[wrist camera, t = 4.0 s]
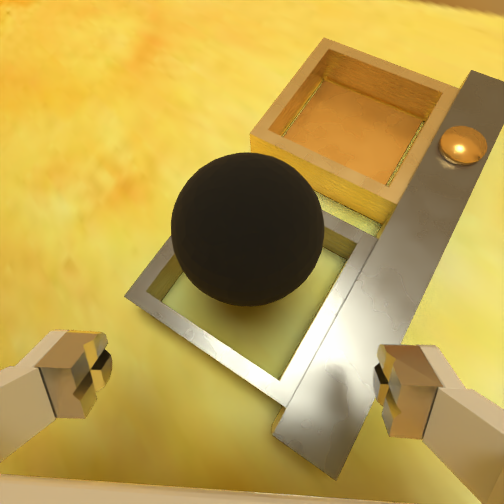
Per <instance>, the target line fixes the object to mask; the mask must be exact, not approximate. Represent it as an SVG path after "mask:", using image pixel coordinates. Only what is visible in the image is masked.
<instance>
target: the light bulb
mask: <svg viewBox="0 0 504 504" xmlns="http://www.w3.org/2000/svg"><path fill="white" fill-rule="evenodd" d="M324 231H325V229H324V219H323V214H322V210H321V206H320V203H319V200H318V197H317V196H316V194H315V192H314V190H313V189H312V187H311V185H310V184H309V183H308V181H307V180H306V179H305V178H304V177H303V176H302V175H301V174H300V173H299V172H298V171H297V170H296V169H295V168H293V167H292V166H290V165H289V164H287V163H286V162H284V161H282V160H280V159H277V158H275V157H273V156H268V155H264V154H259V153H236V154H231V155H227V156H224V157H221V158H218V159H215V160H213V161H212V162H210V163H208V164H207V165H205V166H203V167H202V168H200V169H199V170H198V171H197V172H196V173H195V174H194V175H193V176H192V177H191V178H190V179H189V180H188V181H187V183H186V184H185V186H184V187H183V189H182V190H181V192H180V194H179V196H178V198H177V200H176V203H175V205H174V209H173V213H172V219H171V239H172V245H173V250H174V253H175V256H176V258H177V260H178V262H179V264H180V266H181V268H182V270H183V271H184V273H185V274H186V276H187V277H188V279H189V280H190V281H191V282H192V283H193V284H194V285H195V286H196V287H197V288H198V289H200V290H201V291H202V292H204V293H205V294H207V295H209V296H210V297H212V298H214V299H217V300H219V301H222V302H225V303H228V304H231V305H237V306H259V305H264V304H268V303H272V302H274V301H277V300H279V299H281V298H283V297H285V296H287V295H288V294H290V293H291V292H292V291H294V290H295V289H296V288H298V287H299V286H300V285H301V284H302V283H303V282H304V281H305V280H306V279H307V277H308V276H309V275H310V273H311V272H312V270H313V269H314V267H315V265H316V263H317V261H318V258H319V256H320V254H321V250H322V246H323V241H324Z"/></svg>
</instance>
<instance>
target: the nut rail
mask: <svg viewBox="0 0 504 504" xmlns="http://www.w3.org/2000/svg"><path fill="white" fill-rule="evenodd" d="M322 80H324V82H323V83H322V84H321V86H320V87H319V89H318V90H317V91H316V93H315V94H314V95H313V97H312V98H311V99H310V101H309V102H308V104H307V105H306V106H305V108H304V109H303V110H302V112H301V113H300V115H299V116H298V117H297V119H296V120H295V121H294V123H293V124H292V126H291V127H290V128H289V130H288V131H287V132H286V134H285V135H284V137H282V135H283V134H284V132H285V131H286V130H287V128H288V127H289V126H290V124H291V123H292V121H293V120H294V119H295V117H296V116H297V115H298V113H299V112H300V111H301V109H302V108H303V106H304V105H305V104H306V102H307V101H308V100H309V98H310V97H311V95H312V94H313V93H314V91H315V90H316V89H317V87H318V86H319V85H320V83H321V82H322ZM422 121H425V123H424V125H423V127H422V128H421V130H420V132H419V134H418V135H417V137H416V139H415V141H414V142H413V144H412V146H411V148H410V149H409V151H408V153H407V155H406V157H405V158H404V160H403V162H402V164H401V165H400V167H399V169H398V171H397V172H396V174H395V176H394V178H393V179H392V181H391V183H390V185H389V186H386V184H387V182H388V180H389V178H390V177H391V175H392V173H393V171H394V170H395V168H396V166H397V164H398V163H399V161H400V159H401V157H402V156H403V154H404V152H405V150H406V149H407V147H408V145H409V143H410V142H411V140H412V138H413V136H414V135H415V133H416V131H417V129H418V128H419V126H420V124H421V122H422ZM503 124H504V82H503V81H501V80H498V79H495V78H492V77H489V76H487V75H484V74H481V73H478V72H476V71H473V70H471V71H470V73H469V74H468V76H467V77H466V79H465V80H464V82H463V83H462V85H461V86H460V88H456V87H453V86H451V85H448V84H445V83H443V82H440V81H437V80H435V79H432V78H430V77H427V76H424V75H422V74H419V73H416V72H414V71H411V70H408V69H406V68H403V67H401V66H398V65H395V64H393V63H390V62H387V61H385V60H382V59H379V58H377V57H374V56H371V55H369V54H366V53H364V52H361V51H358V50H356V49H353V48H350V47H348V46H345V45H342V44H340V43H337V42H335V41H332V40H329V39H327V38H323V39H322V41H321V42H320V43H319V45H318V46H317V47H316V48H315V50H314V51H313V52H312V54H311V55H310V56H309V57H308V59H307V60H306V61H305V63H304V64H303V65H302V67H301V68H300V69H299V70H298V72H297V73H296V74H295V76H294V77H293V78H292V79H291V81H290V82H289V83H288V85H287V86H286V87H285V89H284V90H283V91H282V92H281V94H280V95H279V96H278V98H277V99H276V100H275V101H274V103H273V104H272V105H271V107H270V108H269V109H268V111H267V112H266V113H265V114H264V116H263V117H262V118H261V120H260V121H259V122H258V123H257V125H256V126H255V127H254V129H253V130H252V131H251V133H250V144H251V153H259V154H264V155H268V156H273V157H275V158H277V159H280V160H282V161H284V162H286V163H287V164H289V165H290V166H292V167H293V168H295V169H296V170H297V171H298V172H299V173H300V174H301V175H302V176H303V177H304V178H305V179H306V180H307V181H308V183H309V184H310V185H311V187H312V189H313V190H315V191H317V192H319V193H321V194H323V195H325V196H327V197H329V198H331V199H333V200H335V201H337V202H339V203H341V204H343V205H345V206H347V207H349V208H351V209H353V210H355V211H357V212H359V213H361V214H363V215H365V216H367V217H369V218H371V219H373V220H375V221H377V222H379V223H381V224H382V226H381V228H380V230H379V231H378V233H377V235H376V237H374V236H372V235H370V234H368V233H366V232H364V231H362V230H360V229H358V228H356V227H354V226H352V225H350V224H348V223H346V222H344V221H343V220H341V219H339V218H337V217H335V216H333V215H331V214H329V213H327V212H325V211H323V210H322V214H323V219H324V229H325V231H324V241H323V247H325V248H327V249H329V250H330V251H332V252H334V253H336V254H338V255H340V256H341V257H343V258H345V259H347V260H346V262H345V264H344V266H343V268H342V269H341V271H340V273H339V275H338V276H337V278H336V280H335V282H334V283H333V285H332V287H331V289H330V290H329V292H328V294H327V296H326V297H325V299H324V301H323V303H322V305H321V306H320V308H319V310H318V312H317V313H316V315H315V317H314V319H313V320H312V322H311V324H310V326H309V327H308V329H307V331H306V333H305V334H304V336H303V338H302V340H301V342H300V343H299V345H298V347H297V349H296V350H295V352H294V354H293V356H292V357H291V359H290V361H289V363H288V364H287V366H286V368H285V370H284V371H283V373H282V375H281V377H280V379H279V380H277V379H276V378H274V377H273V376H271V375H270V374H268V373H267V372H265V371H264V370H262V369H261V368H259V367H258V366H256V365H255V364H253V363H252V362H250V361H249V360H247V359H246V358H244V357H243V356H241V355H240V354H238V353H237V352H235V351H234V350H232V349H231V348H229V347H228V346H226V345H225V344H223V343H222V342H220V341H219V340H217V339H216V338H214V337H213V336H211V335H210V334H208V333H207V332H206V331H204V330H203V329H201V328H200V327H198V326H197V325H195V324H194V323H192V322H191V321H189V320H188V319H186V318H185V317H183V316H182V315H180V314H179V313H177V312H176V311H174V310H173V309H171V308H170V307H168V306H167V305H165V304H164V303H162V302H161V301H162V299H163V298H164V296H165V295H166V294H167V292H168V291H169V290H170V288H171V287H172V286H173V284H174V283H175V281H176V280H177V279H178V277H179V276H180V275H181V273H182V272H183V270H182V268H181V266H180V264H179V262H178V260H177V258H176V256H175V253H174V250H173V245H172V239H171V236H170V237H169V239H168V240H167V241H166V243H165V244H164V245H163V246H162V248H161V249H160V250H159V252H158V253H157V254H156V255H155V257H154V258H153V259H152V261H151V262H150V263H149V265H148V266H147V267H146V268H145V270H144V271H143V272H142V274H141V275H140V276H139V277H138V279H137V280H136V281H135V283H134V284H133V285H132V286H131V288H130V289H129V290H128V292H127V293H126V294H125V296H124V297H126V298H127V299H128V300H130V301H131V302H133V303H134V304H136V305H137V306H139V307H140V308H142V309H143V310H144V311H146V312H147V313H149V314H150V315H152V316H153V317H155V318H156V319H158V320H159V321H160V322H162V323H163V324H165V325H166V326H168V327H169V328H171V329H172V330H174V331H175V332H176V333H178V334H179V335H181V336H182V337H184V338H185V339H187V340H188V341H190V342H191V343H193V344H194V345H195V346H197V347H198V348H200V349H201V350H203V351H204V352H206V353H207V354H209V355H210V356H211V357H213V358H214V359H216V360H217V361H219V362H220V363H222V364H223V365H225V366H226V367H227V368H229V369H230V370H232V371H233V372H235V373H236V374H238V375H239V376H241V377H242V378H243V379H245V380H246V381H248V382H249V383H251V384H252V385H254V386H255V387H257V388H258V389H259V390H261V391H262V392H264V393H265V394H267V395H268V396H270V397H271V398H273V399H274V400H276V401H277V402H278V403H280V404H281V405H283V406H282V408H281V409H280V411H279V413H278V415H277V417H276V418H275V420H274V422H273V424H272V435H273V436H274V437H276V438H277V439H278V440H280V441H281V442H283V443H284V444H285V445H287V446H288V447H290V448H291V449H292V450H294V451H295V452H297V453H298V454H299V455H301V456H302V457H304V458H305V459H306V460H308V461H309V462H311V463H312V464H313V465H315V466H316V467H317V468H319V469H320V470H322V471H323V472H324V473H326V474H327V475H329V476H330V477H331V478H333V479H334V480H337V478H338V476H339V474H340V472H341V470H342V467H343V465H344V463H345V461H346V459H347V457H348V455H349V452H350V450H351V448H352V446H353V444H354V442H355V440H356V438H357V435H358V433H359V431H360V429H361V427H362V425H363V423H364V421H365V418H366V416H367V414H368V412H369V410H370V408H371V406H372V404H373V401H374V399H375V393H374V388H373V372H374V367H375V366H376V365H377V364H378V363H379V360H378V358H377V350H378V347H379V345H380V344H395V345H400V344H401V342H402V340H403V337H404V335H405V333H406V331H407V329H408V327H409V325H410V323H411V320H412V318H413V316H414V314H415V312H416V310H417V308H418V306H419V303H420V301H421V299H422V297H423V295H424V293H425V291H426V288H427V286H428V284H429V282H430V280H431V278H432V276H433V274H434V271H435V269H436V267H437V265H438V263H439V261H440V259H441V257H442V254H443V252H444V250H445V248H446V246H447V244H448V242H449V239H450V237H451V235H452V233H453V231H454V229H455V227H456V225H457V222H458V220H459V218H460V216H461V214H462V212H463V210H464V208H465V205H466V203H467V201H468V199H469V197H470V195H471V193H472V191H473V188H474V186H475V184H476V182H477V180H478V178H479V176H480V173H481V171H482V169H483V167H484V165H485V163H486V161H487V159H488V156H489V154H490V152H491V150H492V148H493V146H494V144H495V142H496V139H497V137H498V135H499V133H500V131H501V129H502V127H503Z"/></svg>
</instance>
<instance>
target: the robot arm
mask: <svg viewBox="0 0 504 504" xmlns="http://www.w3.org/2000/svg"><path fill="white" fill-rule="evenodd" d="M107 344H108V340H107V337H106V334H104V333H103V332H92V331H77V330H71V331H70V330H57V329H56V330H53V331H50V332H49V333H48V334H47V335H46V336H45V337H44V338H43V339H42V340H41V341H40V342H39V343H38V344H37V345H36V346H35V347H34V348H33V349H32V350H31V351H30V352H29V353H28V354H27V355H26V356H25V357H24V358H23V359H22V360H21V361H20V362H19V363H18V364H17V365H16V366H9V367H7V368H5V369H3V370H1V371H0V462H2V461H3V460H4V459H5V458H7V457H8V456H9V455H11V454H12V453H13V452H14V451H16V450H17V449H18V448H20V447H21V446H22V445H23V444H25V443H26V442H27V441H29V440H30V439H31V438H32V437H34V436H35V435H36V434H38V433H39V432H40V431H41V430H43V429H44V428H45V427H47V426H48V425H49V424H50V423H52V422H53V421H54V420H55V419H56V418H80V419H85V418H86V417H87V415H88V413H89V412H90V410H91V409H92V407H93V405H94V404H95V402H96V400H97V396H96V392H98V391H99V390H101V389H102V388H104V387H105V386H106V384H107V382H108V380H109V378H110V375H111V371H112V358H111V355H110V354H109V353H108V352H107V351H106V350H105V347H106V346H107ZM377 358H378V360H379V363H378V364H377V365H376V366H375V367H374V372H373V388H374V393H375V397H376V400H377V402H378V403H380V404H381V405H382V406H383V411H382V417H383V420H384V423H385V426H386V429H387V432H388V435H389V437H399V438H411V439H422V440H423V442H424V443H425V444H426V445H427V446H428V448H429V449H430V450H431V451H432V452H433V453H434V454H435V455H436V456H437V457H438V458H439V459H440V460H441V461H442V462H443V463H444V464H445V465H446V466H447V467H448V468H449V469H450V470H451V471H452V472H453V474H454V475H455V476H456V477H457V478H458V479H459V480H460V481H461V482H462V483H463V484H464V485H465V486H466V487H467V488H468V489H469V490H470V491H471V492H472V493H473V494H474V495H475V496H476V497H477V498H478V499H479V501H480V502H481V503H482V504H504V409H502V408H501V407H499V406H498V405H496V404H495V403H493V402H491V401H490V400H488V399H487V398H485V397H484V396H482V395H481V394H479V393H477V392H476V391H474V390H473V389H466V388H465V386H464V385H463V383H462V382H461V380H460V379H459V377H458V376H457V374H456V373H455V371H454V370H453V368H452V367H451V366H450V364H449V363H448V361H447V360H446V358H445V357H444V355H443V354H442V352H441V351H440V349H439V348H438V347H437V346H435V345H395V344H380V345H379V347H378V350H377ZM0 504H416V503H402V502H388V501H374V500H360V499H346V498H332V497H318V496H303V495H289V494H275V493H261V492H247V491H233V490H219V489H205V488H191V487H177V486H163V485H149V484H135V483H121V482H107V481H93V480H79V479H65V478H51V477H37V476H23V475H9V474H0Z"/></svg>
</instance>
